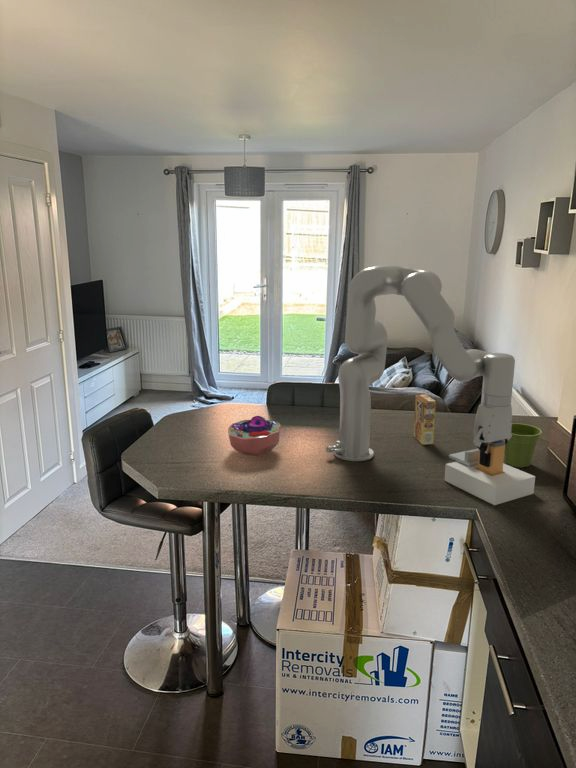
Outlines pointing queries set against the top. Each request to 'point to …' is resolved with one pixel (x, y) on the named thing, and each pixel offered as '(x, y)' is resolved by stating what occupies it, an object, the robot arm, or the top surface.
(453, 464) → the socket
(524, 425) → the plant pot
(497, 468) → the tan boxy piece
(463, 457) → the grey block
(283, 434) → the top surface
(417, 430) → the candy box
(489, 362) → the robot arm
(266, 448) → the cell model
